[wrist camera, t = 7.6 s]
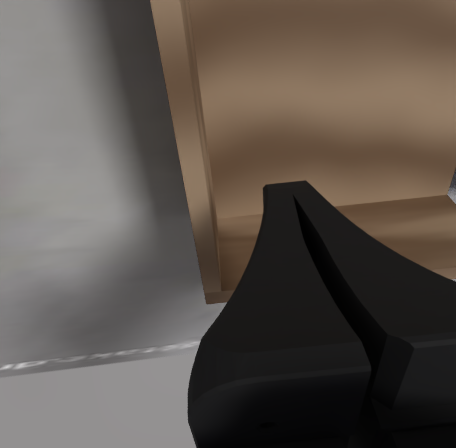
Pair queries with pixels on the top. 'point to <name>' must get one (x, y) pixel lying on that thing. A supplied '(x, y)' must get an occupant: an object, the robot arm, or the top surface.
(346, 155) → the wooden drawer
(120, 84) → the top surface
